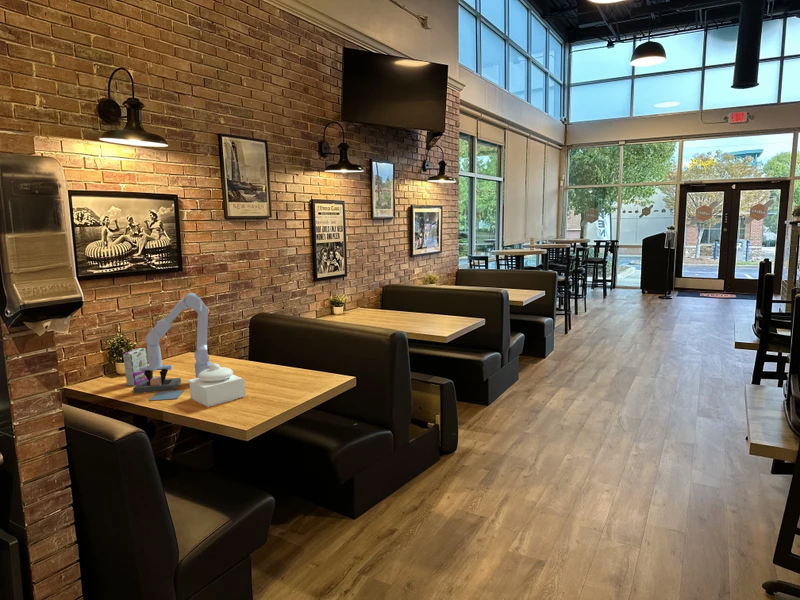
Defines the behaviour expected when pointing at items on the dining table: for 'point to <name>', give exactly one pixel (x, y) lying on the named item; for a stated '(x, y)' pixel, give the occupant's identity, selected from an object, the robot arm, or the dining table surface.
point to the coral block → (156, 380)
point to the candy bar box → (135, 366)
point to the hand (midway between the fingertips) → (157, 385)
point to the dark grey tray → (157, 386)
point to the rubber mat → (166, 395)
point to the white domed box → (216, 386)
